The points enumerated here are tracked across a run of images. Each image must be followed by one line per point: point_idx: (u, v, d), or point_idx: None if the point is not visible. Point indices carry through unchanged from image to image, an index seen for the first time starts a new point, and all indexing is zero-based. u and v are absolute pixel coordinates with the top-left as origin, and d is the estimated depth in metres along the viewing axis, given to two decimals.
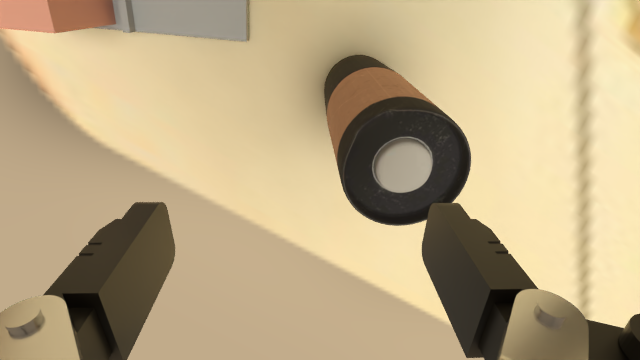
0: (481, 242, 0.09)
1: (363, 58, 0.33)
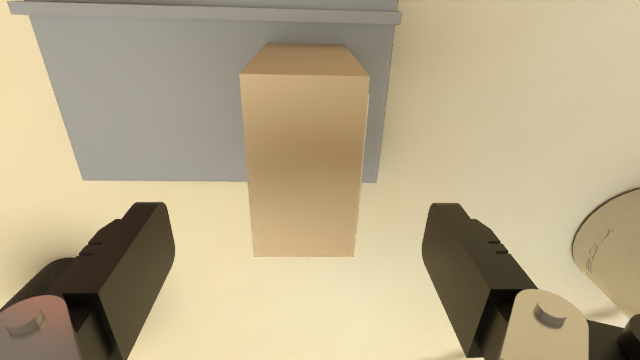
0: (481, 242, 0.09)
1: None
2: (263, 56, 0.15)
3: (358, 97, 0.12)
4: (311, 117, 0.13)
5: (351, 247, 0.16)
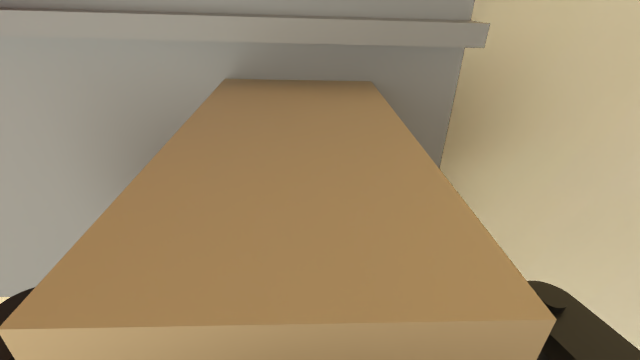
0: None
1: None
2: (191, 140, 0.06)
3: None
4: None
5: None
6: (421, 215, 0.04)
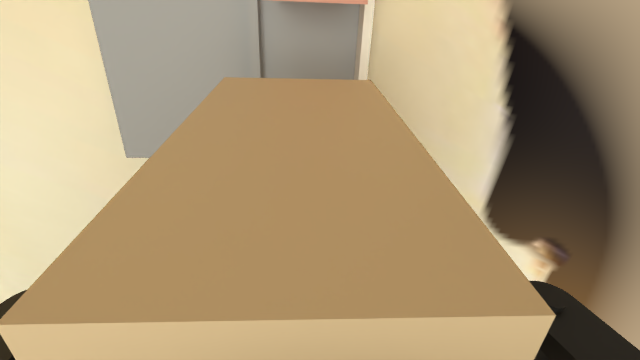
0: None
1: None
2: (190, 138, 0.06)
3: None
4: None
5: None
6: (420, 212, 0.04)
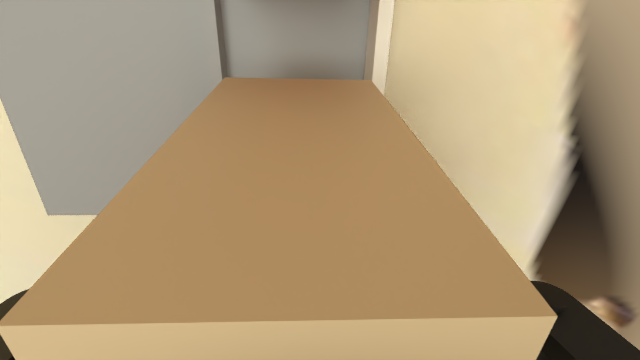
0: None
1: None
2: (190, 138, 0.06)
3: None
4: None
5: None
6: (421, 213, 0.04)
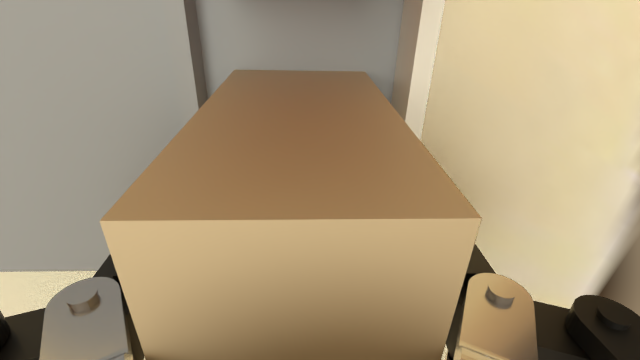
0: None
1: None
2: (212, 115, 0.07)
3: (443, 266, 0.05)
4: (314, 309, 0.05)
5: None
6: (396, 163, 0.06)
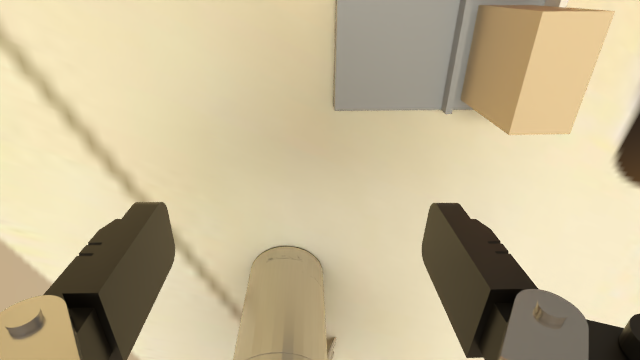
0: (481, 242, 0.09)
1: None
2: (515, 8, 0.25)
3: (605, 24, 0.22)
4: (574, 37, 0.22)
5: (570, 127, 0.25)
6: None
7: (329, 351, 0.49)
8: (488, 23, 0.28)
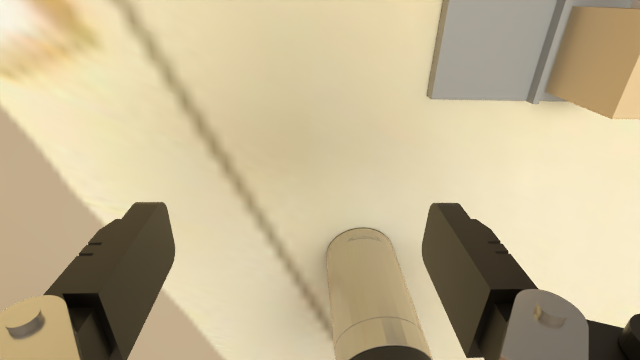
0: (481, 242, 0.09)
1: None
2: (619, 8, 0.28)
3: None
4: None
5: None
6: None
7: None
8: (585, 22, 0.31)
